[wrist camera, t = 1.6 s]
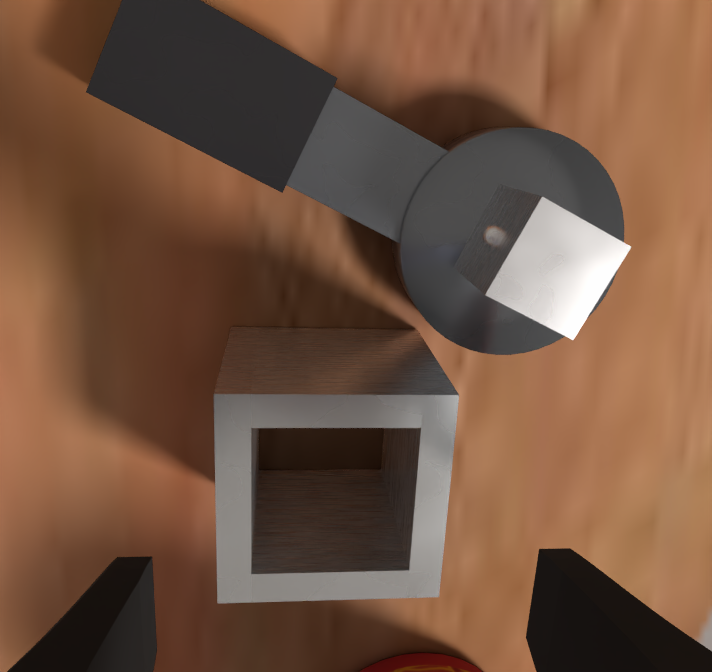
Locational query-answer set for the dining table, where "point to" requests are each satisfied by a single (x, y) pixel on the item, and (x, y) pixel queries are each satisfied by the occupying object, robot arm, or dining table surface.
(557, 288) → the ratchet
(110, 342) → the dining table surface
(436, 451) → the socket
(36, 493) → the dining table surface
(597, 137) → the dining table surface
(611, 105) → the dining table surface
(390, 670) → the canned food
